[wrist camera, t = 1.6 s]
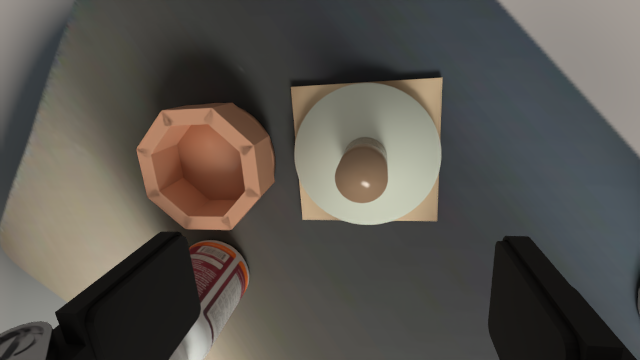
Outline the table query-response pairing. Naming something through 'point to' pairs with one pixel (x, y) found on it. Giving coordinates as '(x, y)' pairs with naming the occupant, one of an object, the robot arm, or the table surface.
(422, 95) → the mat
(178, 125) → the bowl
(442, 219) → the table surface
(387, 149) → the lid
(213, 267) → the pill bottle
